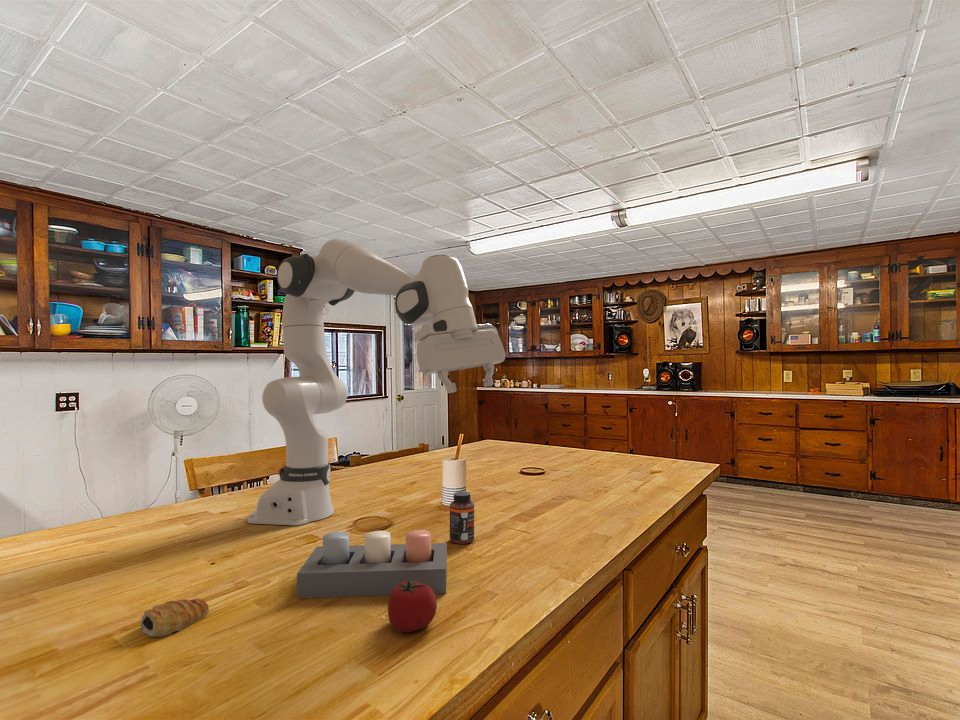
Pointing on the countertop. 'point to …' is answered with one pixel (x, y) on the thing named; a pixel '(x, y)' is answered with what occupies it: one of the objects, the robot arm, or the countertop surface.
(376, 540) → the ivory button
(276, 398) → the robot arm
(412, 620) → the tomato
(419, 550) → the pink rounded block
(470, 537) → the supplement bottle
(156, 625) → the pastry
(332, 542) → the slate button
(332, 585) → the egg tray
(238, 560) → the countertop surface
